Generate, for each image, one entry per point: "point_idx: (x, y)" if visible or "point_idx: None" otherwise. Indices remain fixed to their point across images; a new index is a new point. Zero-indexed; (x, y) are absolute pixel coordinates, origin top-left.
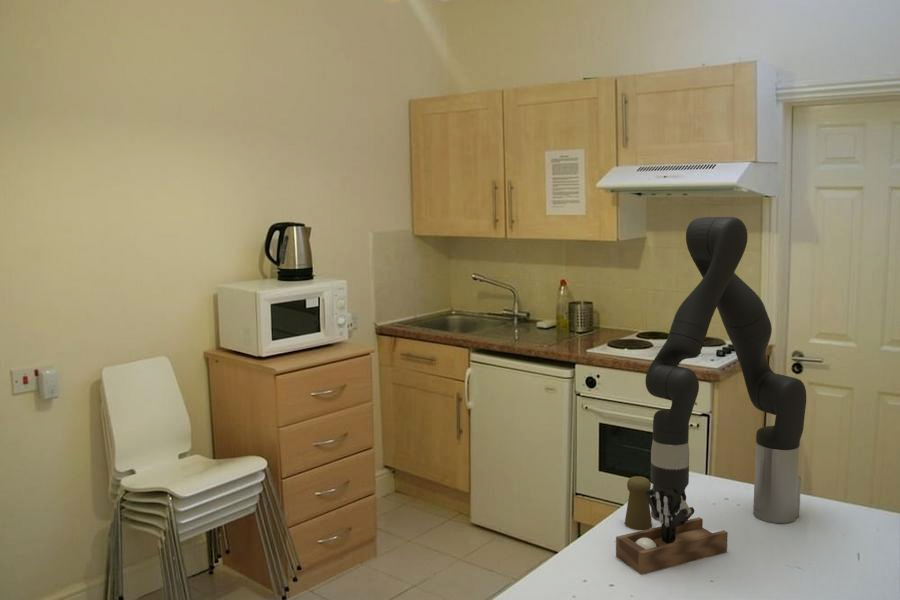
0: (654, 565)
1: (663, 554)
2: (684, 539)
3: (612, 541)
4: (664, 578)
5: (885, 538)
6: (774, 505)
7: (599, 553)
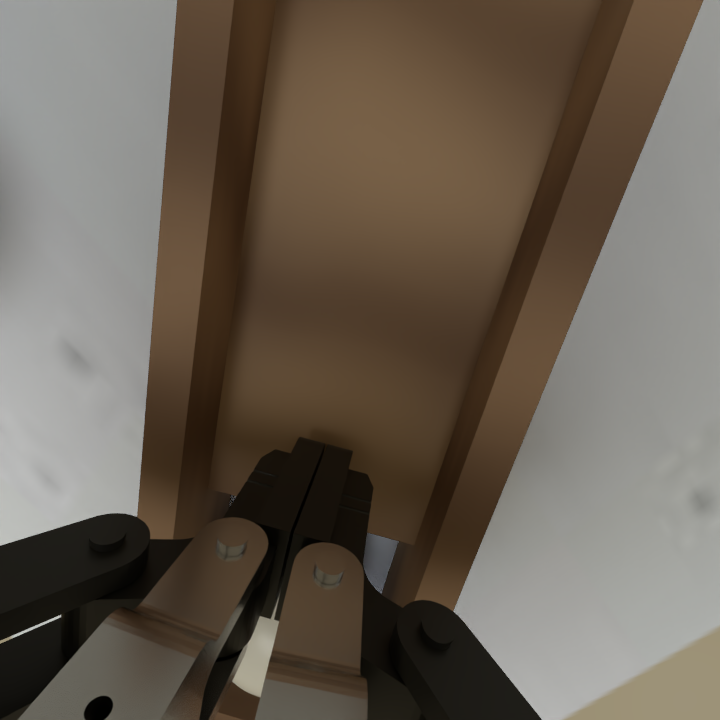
0: None
1: None
2: (347, 301)
3: (46, 492)
4: (485, 629)
5: None
6: None
7: None
